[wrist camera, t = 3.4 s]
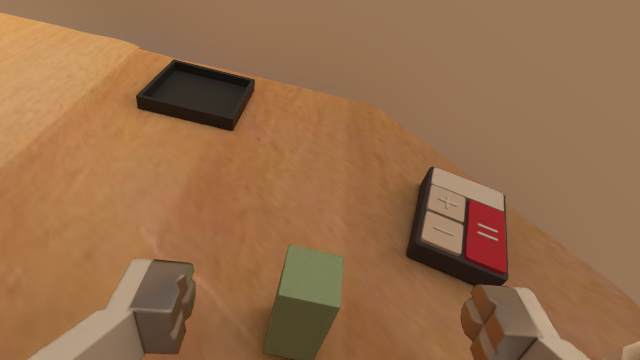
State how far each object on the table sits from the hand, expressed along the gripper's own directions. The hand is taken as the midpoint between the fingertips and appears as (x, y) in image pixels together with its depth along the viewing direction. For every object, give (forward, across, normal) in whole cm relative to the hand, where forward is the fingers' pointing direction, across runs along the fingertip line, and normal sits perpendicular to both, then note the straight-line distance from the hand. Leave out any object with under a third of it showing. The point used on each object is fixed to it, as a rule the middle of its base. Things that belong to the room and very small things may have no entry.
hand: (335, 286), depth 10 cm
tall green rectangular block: (+12, 0, +23) cm, 26 cm away
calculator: (+28, -21, +23) cm, 42 cm away
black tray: (+49, +17, +17) cm, 55 cm away
